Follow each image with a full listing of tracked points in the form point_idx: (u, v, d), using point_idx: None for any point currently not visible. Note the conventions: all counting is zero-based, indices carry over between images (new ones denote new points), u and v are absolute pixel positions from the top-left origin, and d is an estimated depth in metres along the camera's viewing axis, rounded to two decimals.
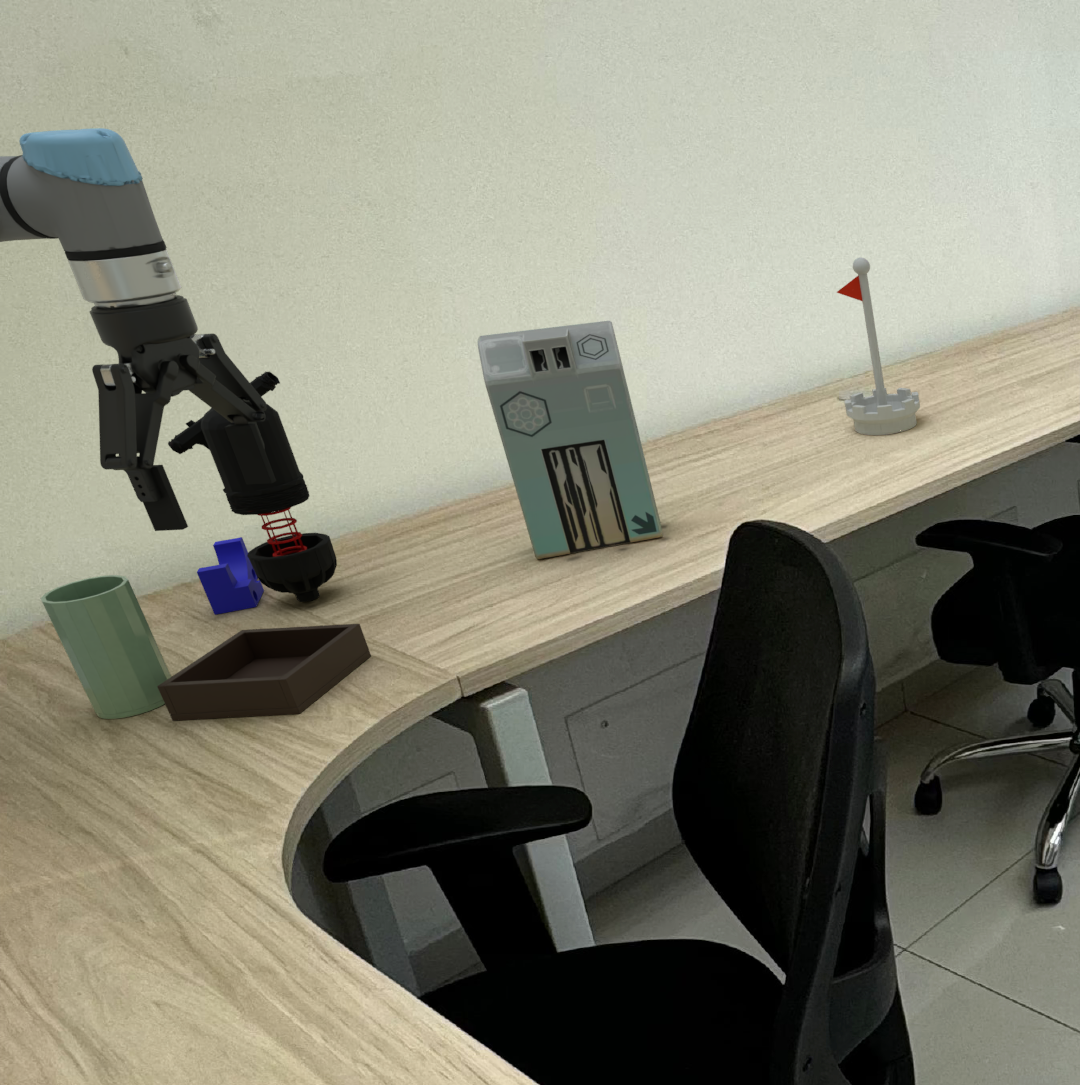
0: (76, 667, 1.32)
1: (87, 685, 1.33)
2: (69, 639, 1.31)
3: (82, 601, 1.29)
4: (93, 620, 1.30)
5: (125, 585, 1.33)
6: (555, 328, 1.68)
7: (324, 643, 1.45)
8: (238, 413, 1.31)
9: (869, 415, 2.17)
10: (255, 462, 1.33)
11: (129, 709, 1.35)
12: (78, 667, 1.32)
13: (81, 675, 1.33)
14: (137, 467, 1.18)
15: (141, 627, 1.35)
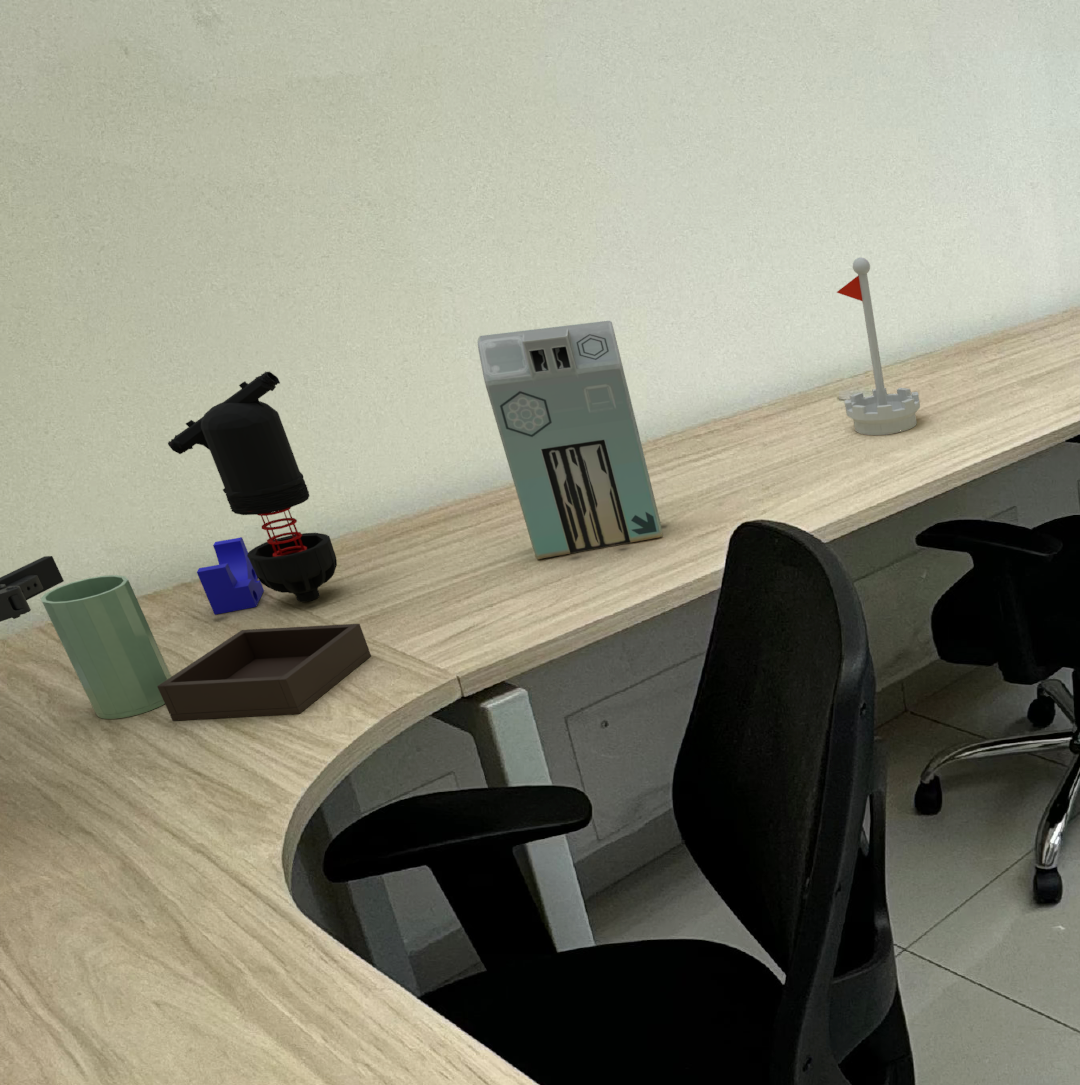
0: (76, 667, 1.32)
1: (87, 685, 1.33)
2: (69, 639, 1.31)
3: (82, 601, 1.29)
4: (93, 620, 1.30)
5: (125, 585, 1.33)
6: (555, 328, 1.68)
7: (324, 643, 1.45)
8: None
9: (869, 415, 2.17)
10: None
11: (129, 709, 1.35)
12: (78, 667, 1.32)
13: (81, 675, 1.33)
14: None
15: (141, 627, 1.35)
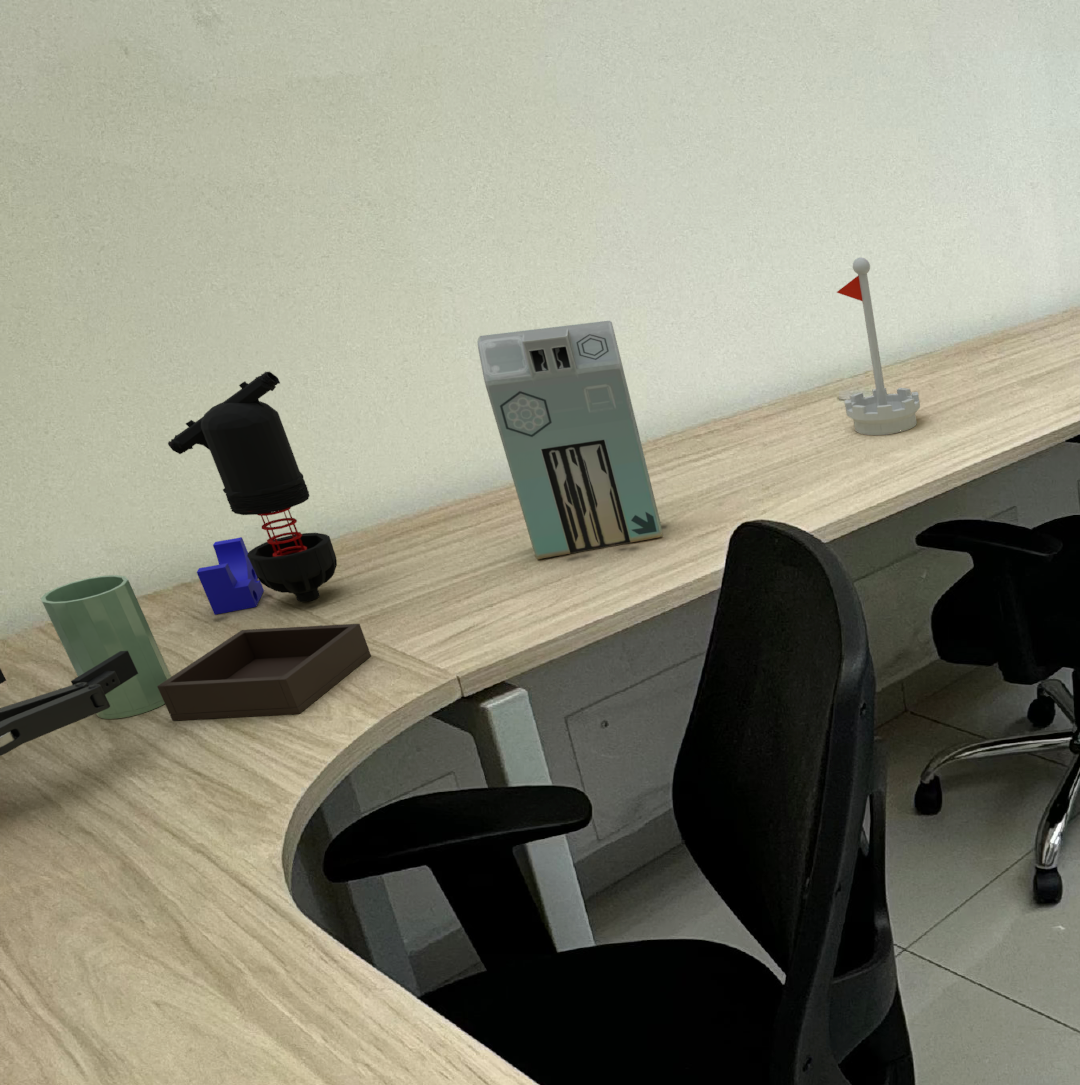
0: (76, 667, 1.32)
1: None
2: (69, 639, 1.31)
3: (82, 601, 1.29)
4: (93, 620, 1.30)
5: (125, 585, 1.33)
6: (555, 328, 1.68)
7: (324, 643, 1.45)
8: None
9: (869, 415, 2.17)
10: None
11: (129, 709, 1.35)
12: (78, 667, 1.32)
13: None
14: None
15: (141, 627, 1.35)
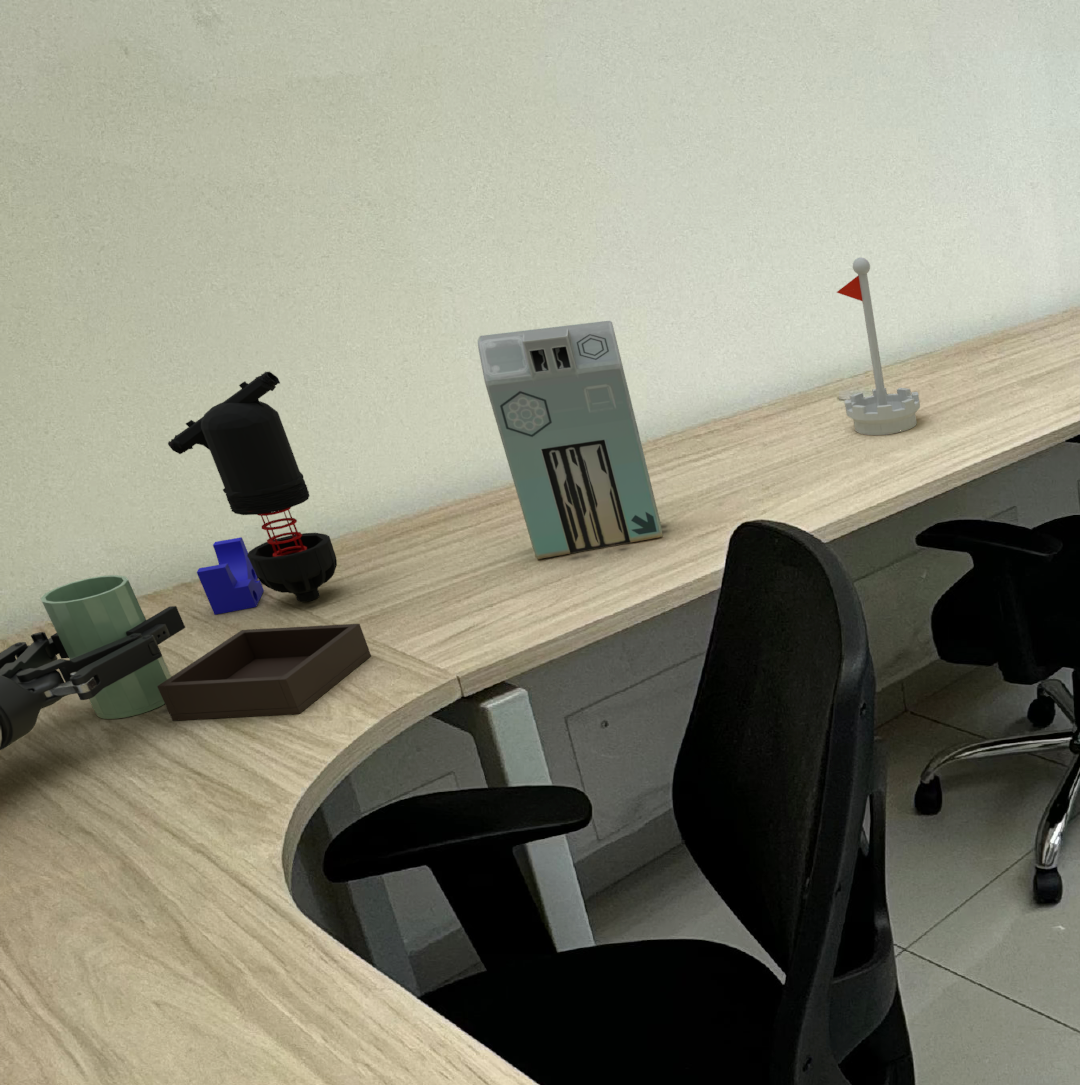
0: None
1: None
2: (69, 639, 1.30)
3: (82, 601, 1.29)
4: (93, 620, 1.30)
5: (125, 585, 1.33)
6: (555, 328, 1.68)
7: (324, 643, 1.45)
8: None
9: (869, 415, 2.17)
10: None
11: (129, 709, 1.35)
12: None
13: None
14: None
15: None
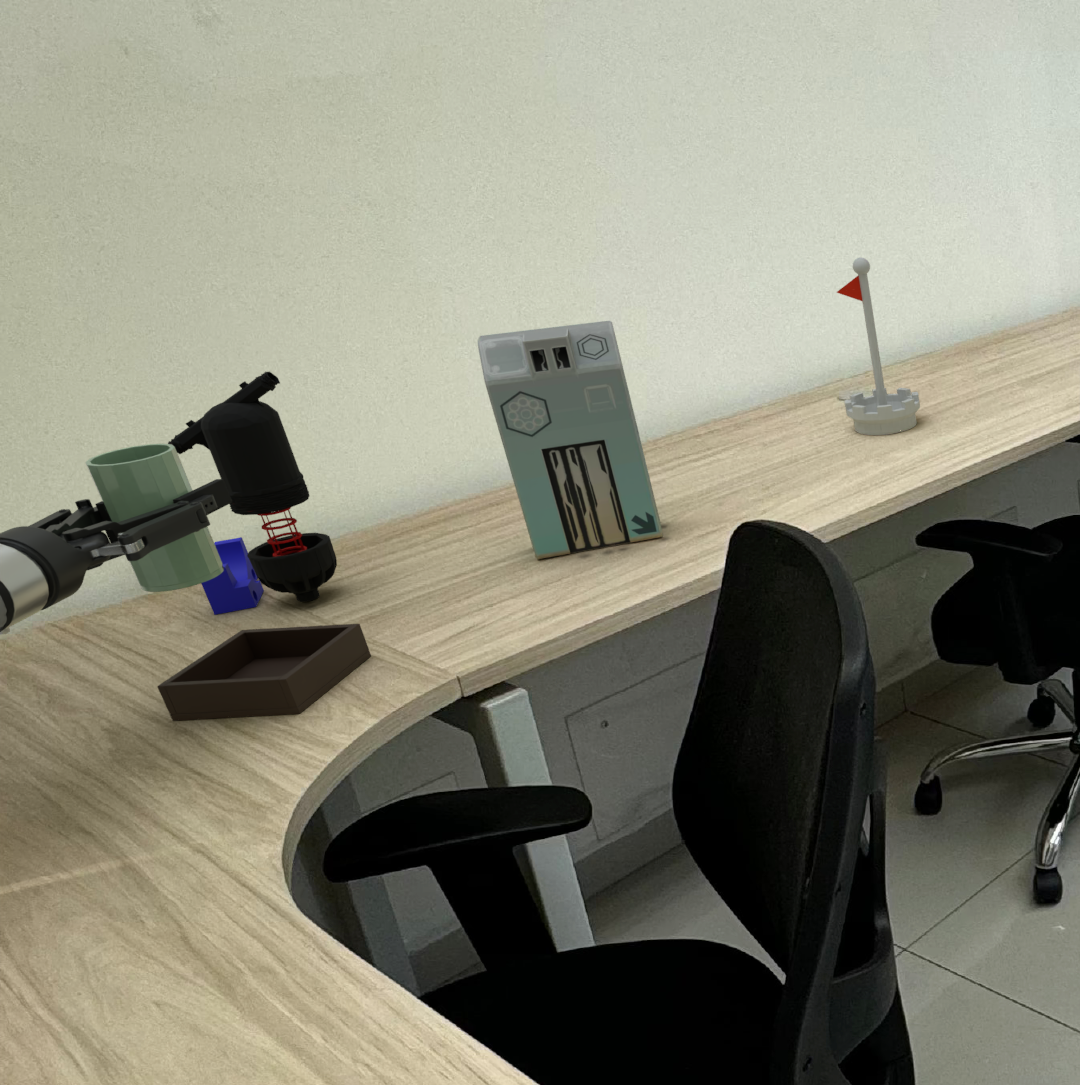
0: None
1: None
2: (115, 505, 1.26)
3: (128, 464, 1.25)
4: (139, 485, 1.26)
5: (171, 452, 1.28)
6: (555, 328, 1.68)
7: (324, 643, 1.45)
8: None
9: (869, 415, 2.17)
10: None
11: (175, 582, 1.30)
12: None
13: None
14: None
15: None
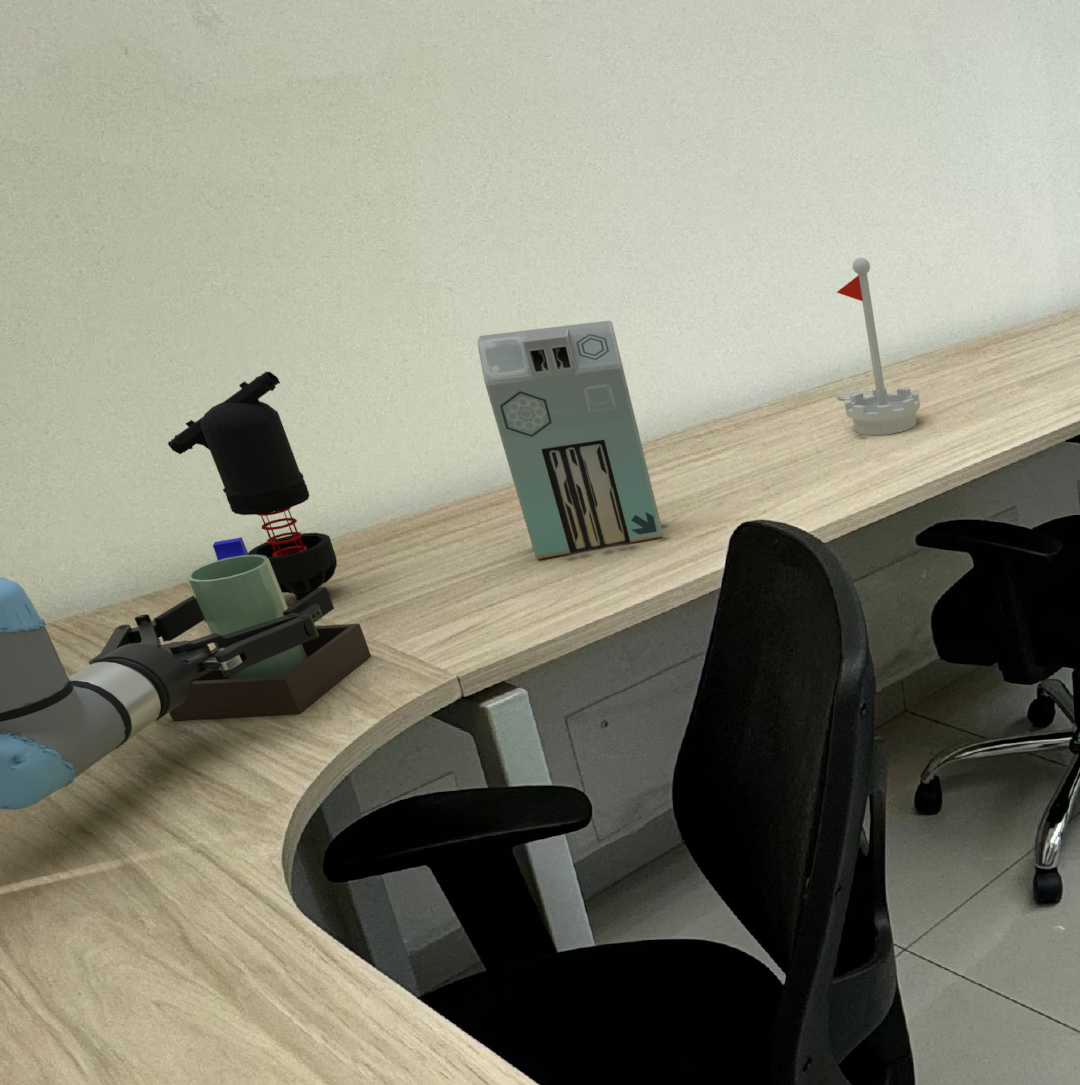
0: None
1: None
2: (214, 617, 1.32)
3: (228, 579, 1.31)
4: (238, 598, 1.32)
5: (266, 565, 1.35)
6: (555, 328, 1.68)
7: (324, 643, 1.45)
8: None
9: (869, 415, 2.17)
10: None
11: None
12: None
13: None
14: None
15: (281, 606, 1.36)
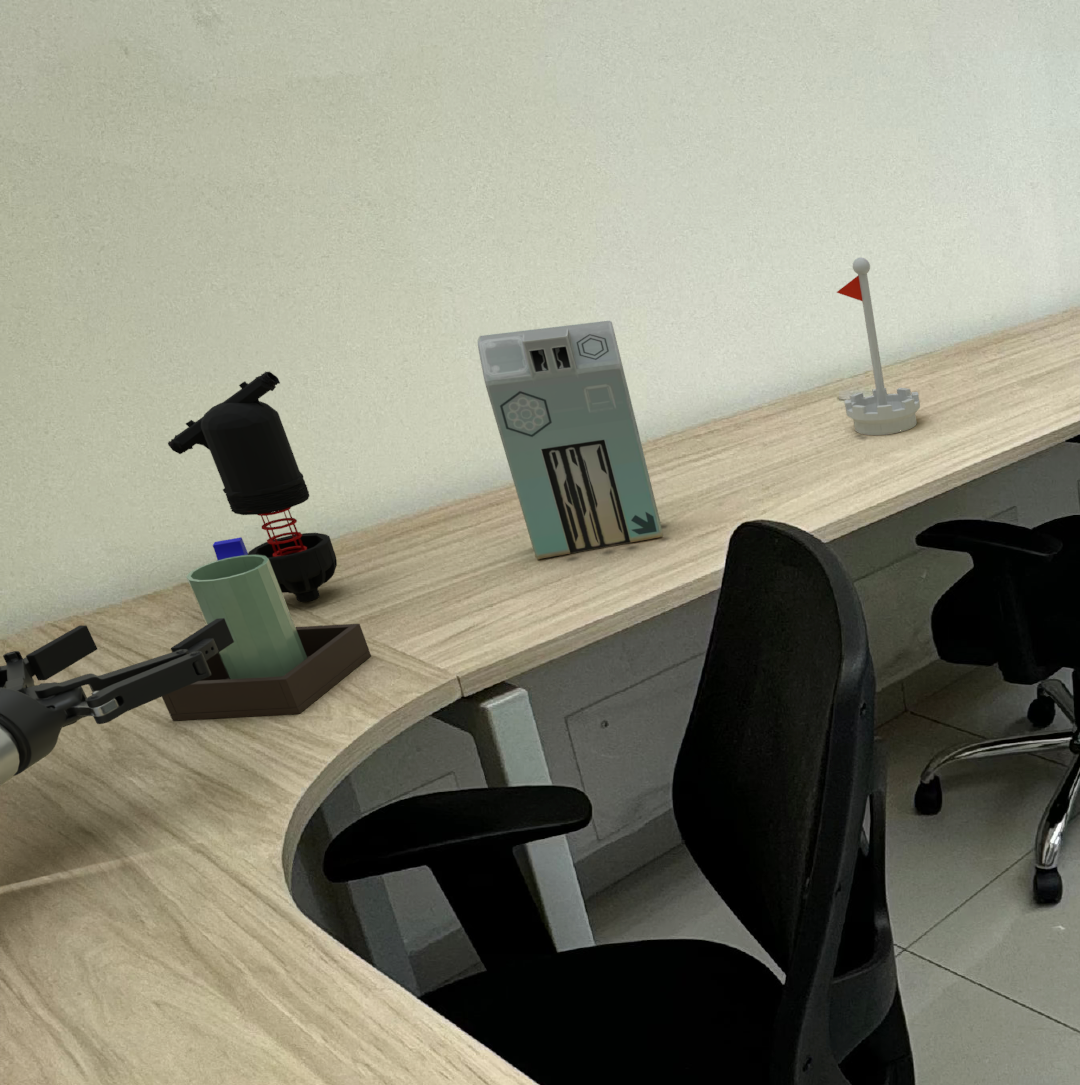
0: None
1: (229, 663, 1.35)
2: (214, 617, 1.32)
3: (228, 579, 1.31)
4: (238, 598, 1.32)
5: (266, 565, 1.35)
6: (555, 328, 1.68)
7: (324, 643, 1.45)
8: None
9: (869, 415, 2.17)
10: None
11: None
12: None
13: (224, 653, 1.34)
14: None
15: (281, 606, 1.36)
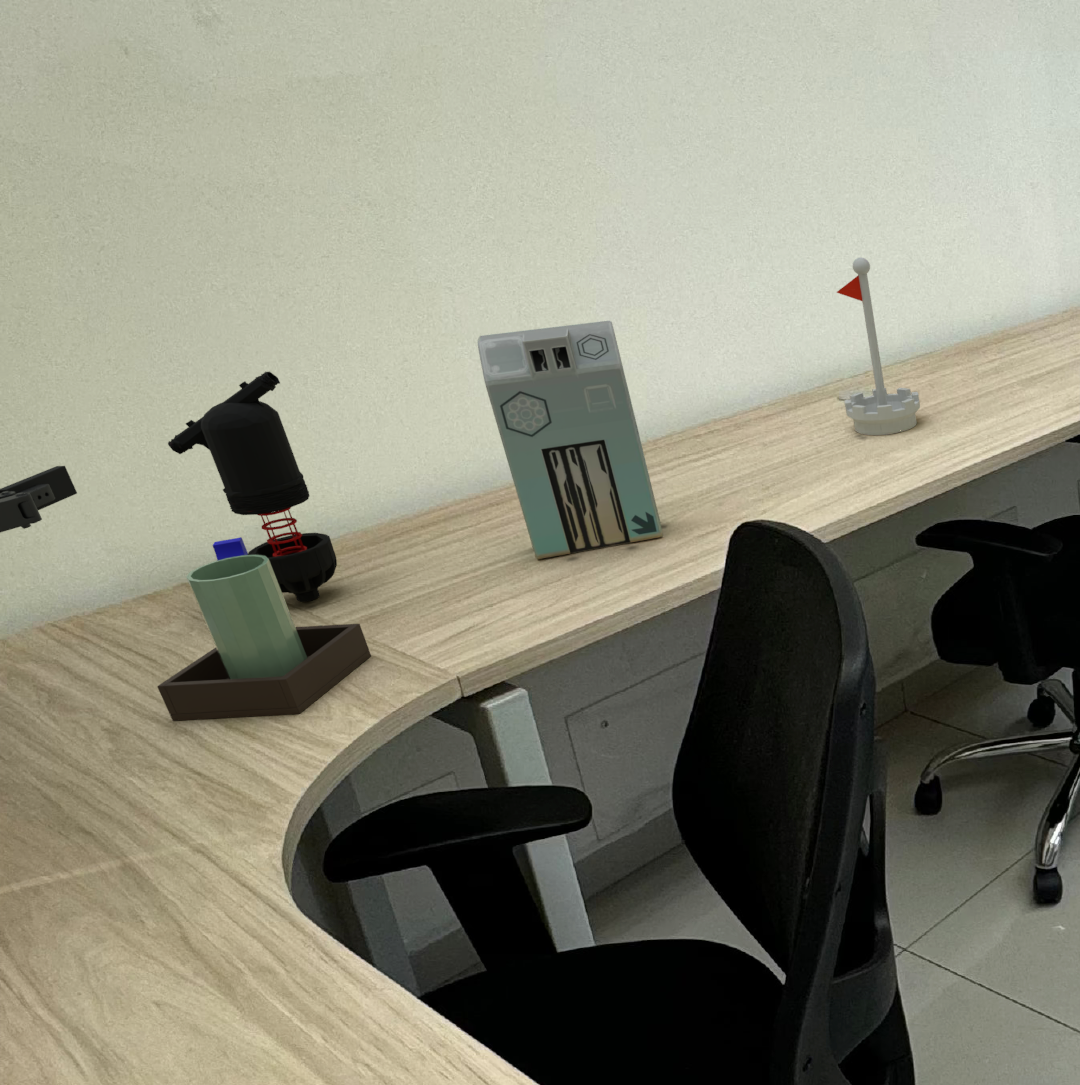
0: (219, 645, 1.34)
1: (229, 663, 1.35)
2: (214, 617, 1.32)
3: (228, 579, 1.31)
4: (238, 598, 1.32)
5: (266, 565, 1.35)
6: (555, 328, 1.68)
7: (324, 643, 1.45)
8: None
9: (869, 415, 2.17)
10: None
11: None
12: (221, 645, 1.34)
13: (224, 653, 1.34)
14: None
15: (281, 606, 1.36)
